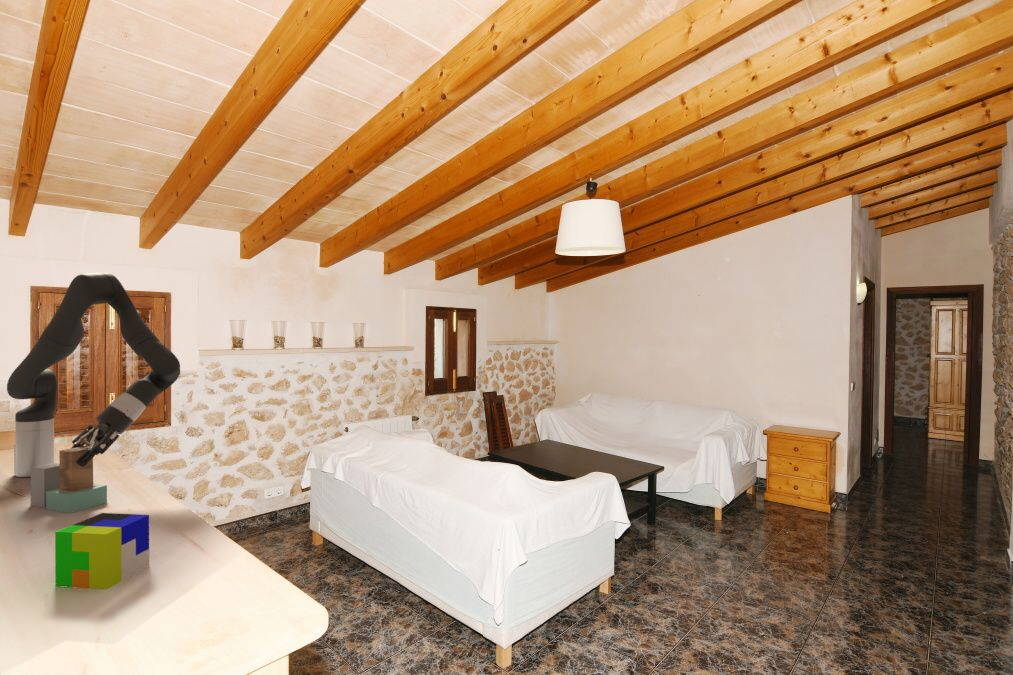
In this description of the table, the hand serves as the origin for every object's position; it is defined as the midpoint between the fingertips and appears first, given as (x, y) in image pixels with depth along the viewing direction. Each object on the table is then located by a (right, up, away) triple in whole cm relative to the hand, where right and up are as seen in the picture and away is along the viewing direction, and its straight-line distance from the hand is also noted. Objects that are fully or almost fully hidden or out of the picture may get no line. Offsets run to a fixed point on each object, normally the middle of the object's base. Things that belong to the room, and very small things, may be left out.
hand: (71, 462), depth 139 cm
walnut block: (+1, -7, +1) cm, 7 cm away
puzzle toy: (+37, -13, -38) cm, 54 cm away
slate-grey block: (-8, -11, +3) cm, 14 cm away
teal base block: (+1, -12, +1) cm, 12 cm away
